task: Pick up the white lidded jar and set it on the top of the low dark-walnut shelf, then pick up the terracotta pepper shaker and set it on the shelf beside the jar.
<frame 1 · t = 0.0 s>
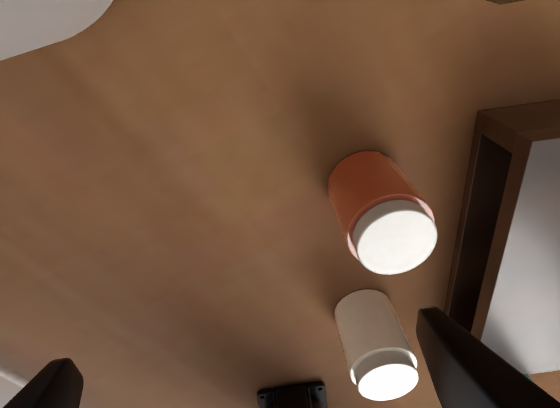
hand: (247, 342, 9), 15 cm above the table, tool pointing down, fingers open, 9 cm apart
shelf: (521, 232, 27), on the table
pepper shaker: (363, 184, 24), on the table
white lidded jar: (362, 310, 31), on the table
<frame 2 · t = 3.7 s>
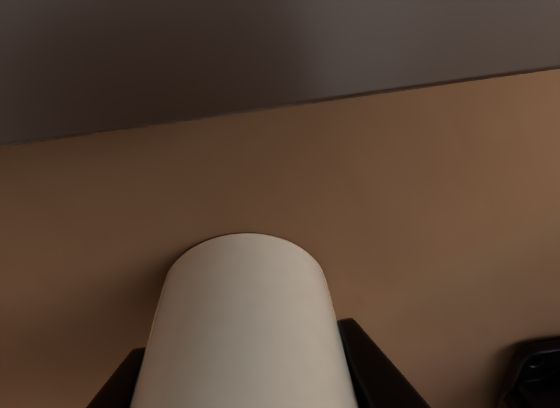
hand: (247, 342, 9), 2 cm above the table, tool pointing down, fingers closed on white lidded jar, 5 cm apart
white lidded jar: (246, 299, 11), on the table, touching gripper
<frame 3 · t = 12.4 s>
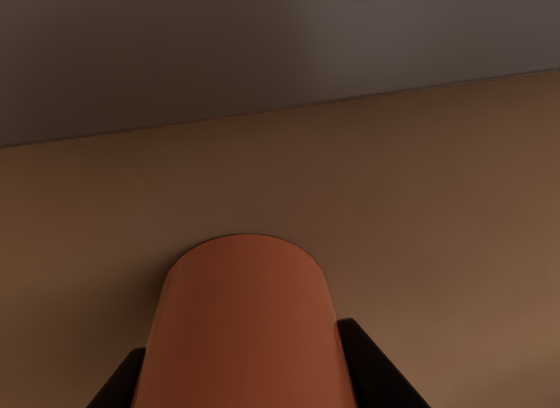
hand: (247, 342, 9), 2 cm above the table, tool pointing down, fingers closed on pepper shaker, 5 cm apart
pepper shaker: (246, 299, 11), on the table, touching gripper
when the fingers open (7 cm above the table, at t = 16.7 s): pepper shaker stays where it is, resting on shelf.
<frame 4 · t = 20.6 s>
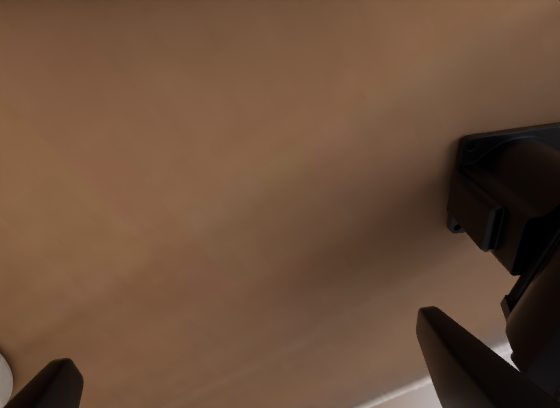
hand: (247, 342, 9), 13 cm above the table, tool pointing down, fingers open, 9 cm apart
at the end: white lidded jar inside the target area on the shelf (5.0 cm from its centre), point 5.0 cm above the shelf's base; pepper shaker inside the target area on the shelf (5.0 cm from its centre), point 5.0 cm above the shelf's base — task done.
